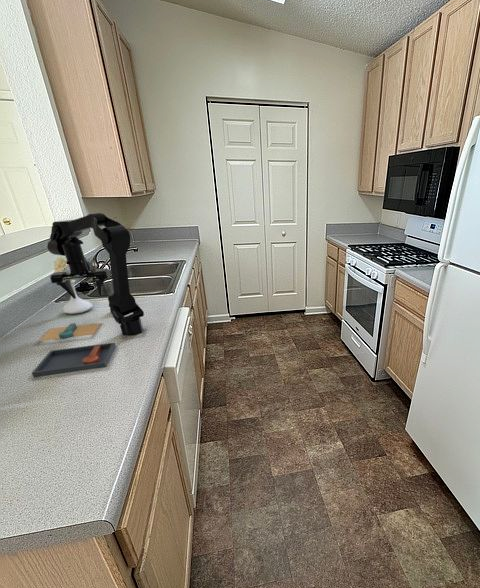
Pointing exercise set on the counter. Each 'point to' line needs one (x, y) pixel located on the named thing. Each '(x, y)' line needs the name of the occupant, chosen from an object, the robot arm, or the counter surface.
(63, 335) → the teal spoon
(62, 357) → the tray
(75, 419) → the counter surface
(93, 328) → the cork mat
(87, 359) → the terracotta spoon
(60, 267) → the flower in vase
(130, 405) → the counter surface
